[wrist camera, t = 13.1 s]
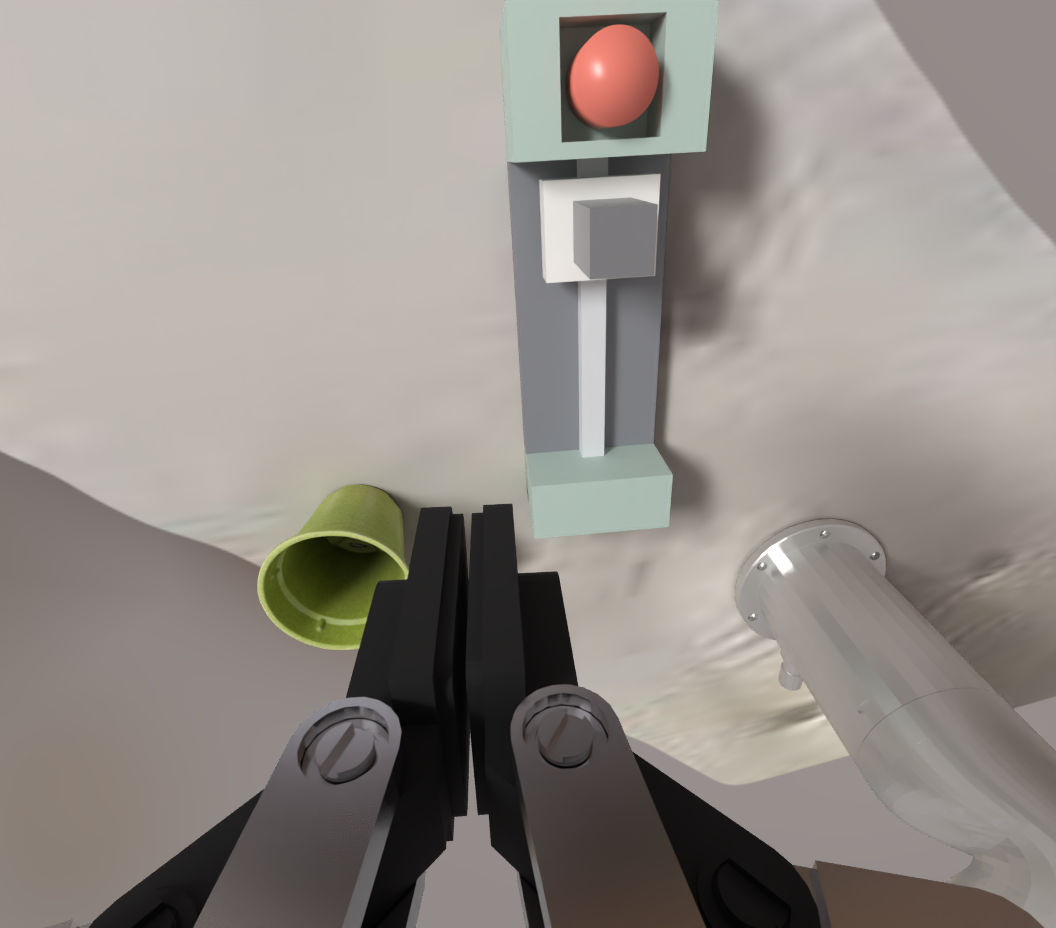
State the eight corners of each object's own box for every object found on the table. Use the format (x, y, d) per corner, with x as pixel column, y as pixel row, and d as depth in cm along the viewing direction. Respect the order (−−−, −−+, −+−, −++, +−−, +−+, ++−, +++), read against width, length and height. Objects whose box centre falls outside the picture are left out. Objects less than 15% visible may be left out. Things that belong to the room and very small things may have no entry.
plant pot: (297, 453, 40) (256, 523, 33) (432, 471, 42) (423, 542, 34) (295, 560, 44) (257, 643, 37) (418, 573, 46) (406, 656, 38)
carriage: (645, 269, 33) (684, 295, 27) (542, 276, 33) (558, 303, 27) (650, 172, 31) (693, 177, 25) (539, 179, 31) (554, 185, 24)
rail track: (645, 482, 44) (673, 535, 37) (527, 492, 43) (535, 547, 37) (669, 23, 30) (719, -12, 24) (499, 31, 30) (505, -2, 24)
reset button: (639, 127, 28) (656, 123, 25) (566, 131, 28) (575, 128, 25) (642, 35, 26) (661, 22, 24) (564, 39, 26) (574, 26, 23)
